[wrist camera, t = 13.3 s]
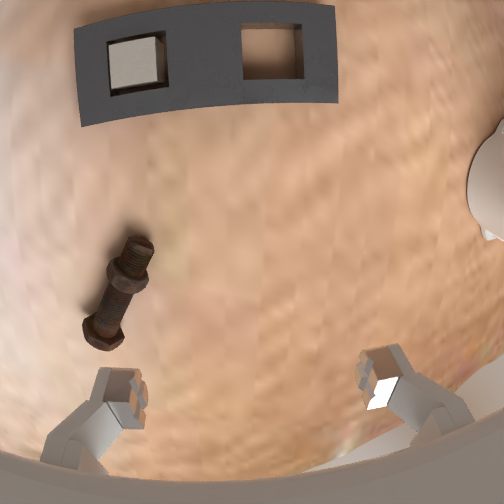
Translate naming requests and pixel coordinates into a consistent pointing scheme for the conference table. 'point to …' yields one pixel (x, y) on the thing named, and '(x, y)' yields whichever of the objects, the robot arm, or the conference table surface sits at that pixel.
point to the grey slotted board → (207, 58)
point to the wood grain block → (136, 63)
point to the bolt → (119, 294)
